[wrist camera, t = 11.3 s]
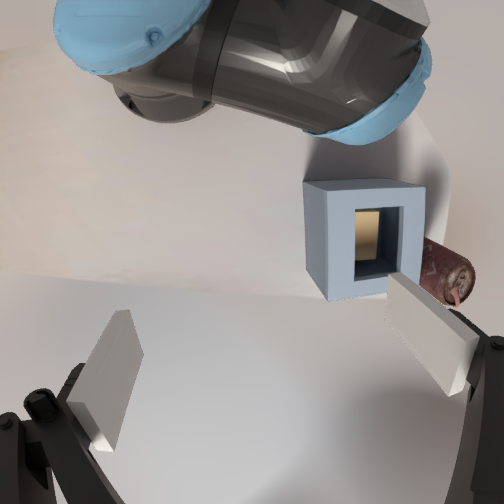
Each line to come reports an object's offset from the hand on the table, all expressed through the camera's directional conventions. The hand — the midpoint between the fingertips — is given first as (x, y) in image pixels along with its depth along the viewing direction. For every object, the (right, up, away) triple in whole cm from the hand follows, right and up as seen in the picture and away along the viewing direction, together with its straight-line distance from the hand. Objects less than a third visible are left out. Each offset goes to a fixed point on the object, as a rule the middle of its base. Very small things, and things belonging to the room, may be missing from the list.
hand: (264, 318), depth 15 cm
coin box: (+12, +7, +27) cm, 30 cm away
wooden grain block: (+12, +7, +26) cm, 30 cm away
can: (+22, +3, +29) cm, 37 cm away
